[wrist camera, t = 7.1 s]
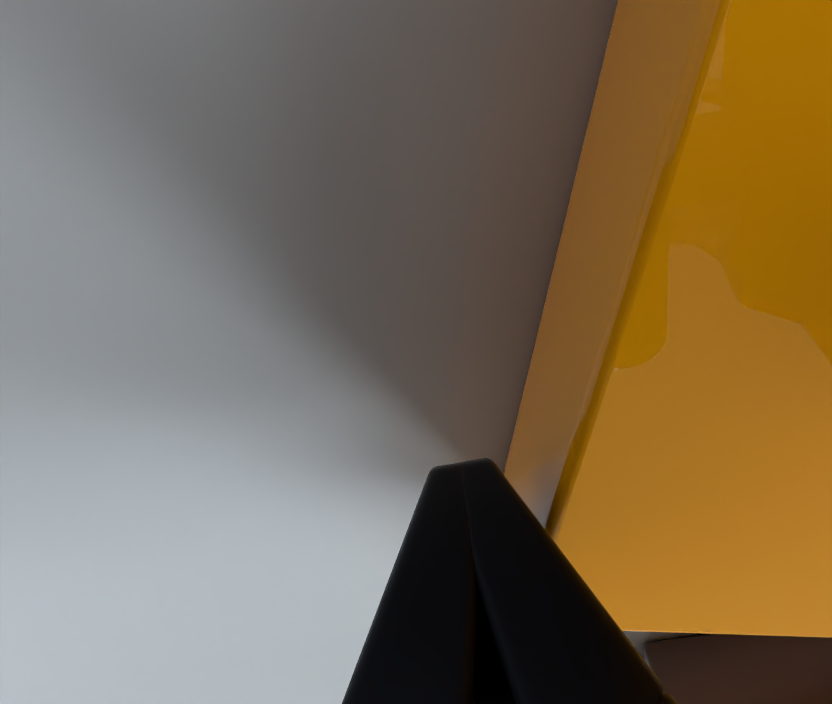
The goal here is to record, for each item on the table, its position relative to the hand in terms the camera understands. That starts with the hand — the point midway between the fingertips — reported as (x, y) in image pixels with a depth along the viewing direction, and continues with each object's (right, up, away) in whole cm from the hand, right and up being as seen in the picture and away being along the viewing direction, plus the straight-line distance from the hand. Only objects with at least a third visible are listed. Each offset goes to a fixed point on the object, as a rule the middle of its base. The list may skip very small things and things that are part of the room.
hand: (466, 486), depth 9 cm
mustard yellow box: (+5, +2, +1) cm, 6 cm away
